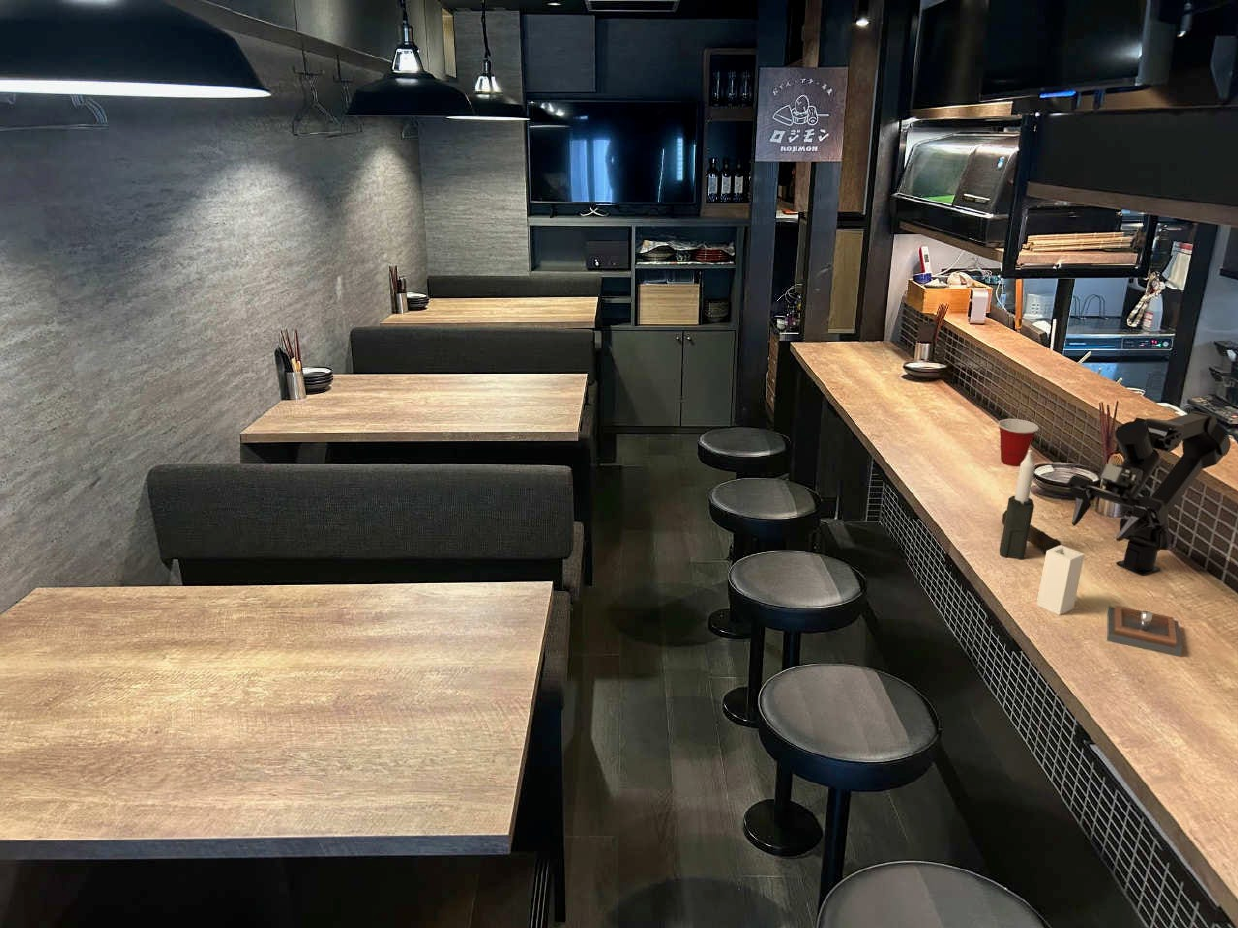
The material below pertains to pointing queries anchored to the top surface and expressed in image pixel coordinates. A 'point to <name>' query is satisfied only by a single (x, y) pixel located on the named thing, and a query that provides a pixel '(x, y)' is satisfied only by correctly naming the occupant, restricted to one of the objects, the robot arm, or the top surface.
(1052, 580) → the sleeve
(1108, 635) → the seat plate
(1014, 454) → the plastic cup
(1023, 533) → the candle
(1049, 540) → the hand tool
